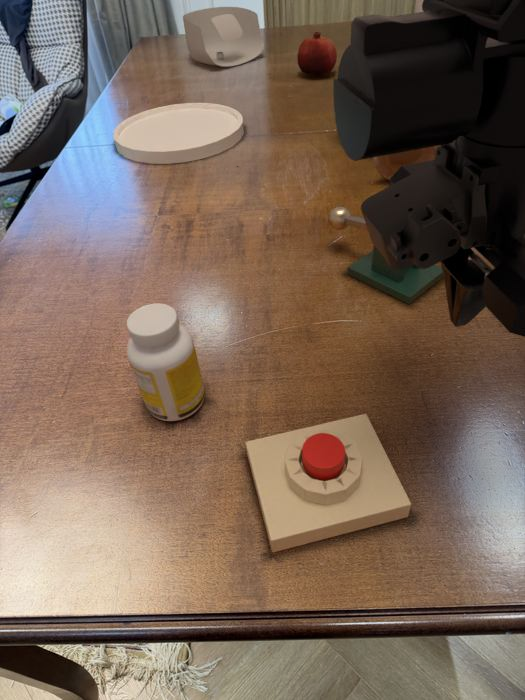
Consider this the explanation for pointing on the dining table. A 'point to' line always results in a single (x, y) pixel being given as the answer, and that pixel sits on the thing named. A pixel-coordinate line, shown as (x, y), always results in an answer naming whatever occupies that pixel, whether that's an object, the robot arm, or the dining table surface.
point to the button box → (324, 485)
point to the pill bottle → (164, 362)
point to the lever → (345, 219)
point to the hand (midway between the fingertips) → (458, 323)
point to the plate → (178, 133)
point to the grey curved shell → (223, 35)
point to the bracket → (394, 277)
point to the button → (323, 456)
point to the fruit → (317, 55)
